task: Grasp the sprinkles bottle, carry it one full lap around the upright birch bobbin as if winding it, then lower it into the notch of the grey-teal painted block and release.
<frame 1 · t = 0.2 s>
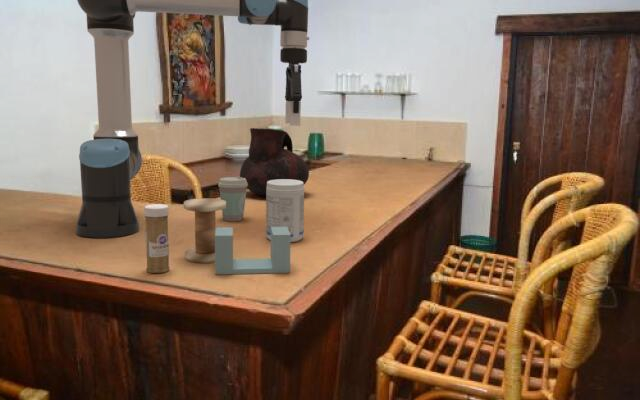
hand: (292, 124, 154), 28 cm above the worktop, fingers open, 13 cm apart
supplement tub: (284, 239, 136), on the worktop
sprinkles bottle: (158, 271, 108), on the worktop
bobbin: (205, 256, 119), on the worktop
jug: (274, 195, 198), on the worktop
notch board: (252, 268, 111), on the worktop
coffee cup: (233, 220, 156), on the worktop
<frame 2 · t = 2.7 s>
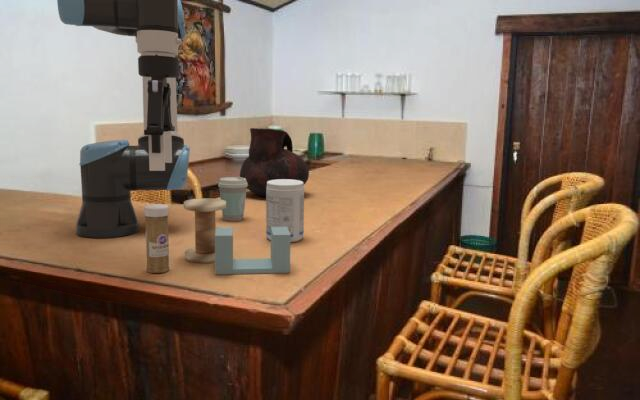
hand: (161, 166, 106), 21 cm above the worktop, fingers open, 13 cm apart
nothing on the worktop moved.
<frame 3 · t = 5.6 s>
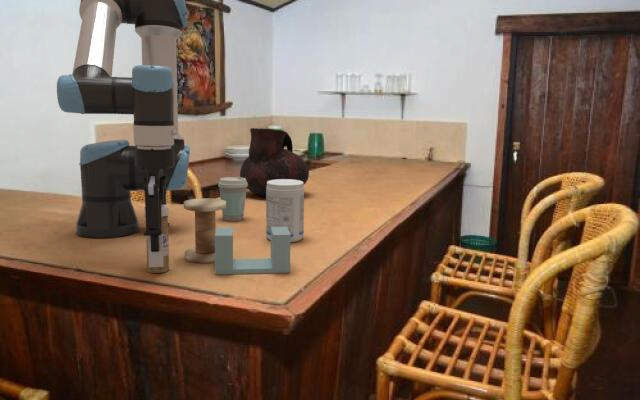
hand: (158, 262, 108), 2 cm above the worktop, fingers closed on sprinkles bottle, 4 cm apart
sprinkles bottle: (158, 271, 108), on the worktop, touching gripper
everything else where it was.
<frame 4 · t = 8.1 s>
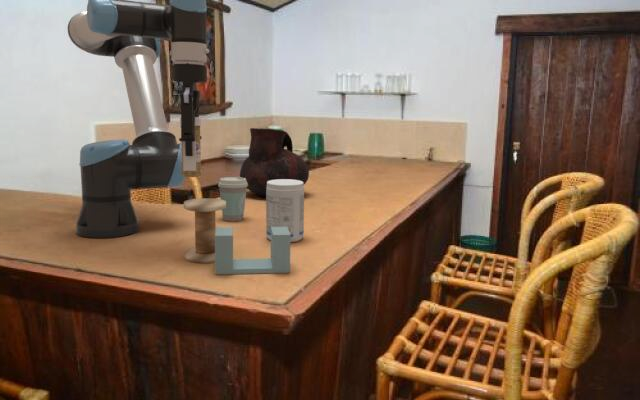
hand: (191, 168, 122), 19 cm above the worktop, fingers closed on sprinkles bottle, 4 cm apart
sprinkles bottle: (191, 177, 122), point 17 cm above the worktop, touching gripper
everything else where it was.
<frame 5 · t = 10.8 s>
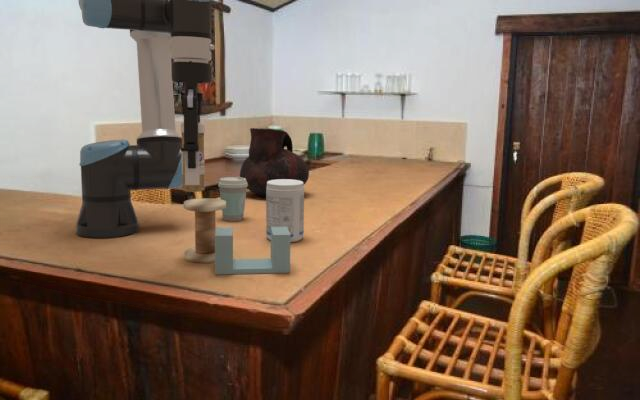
hand: (193, 182, 106), 18 cm above the worktop, fingers closed on sprinkles bottle, 4 cm apart
sprinkles bottle: (193, 191, 107), point 16 cm above the worktop, touching gripper
everything else where it was.
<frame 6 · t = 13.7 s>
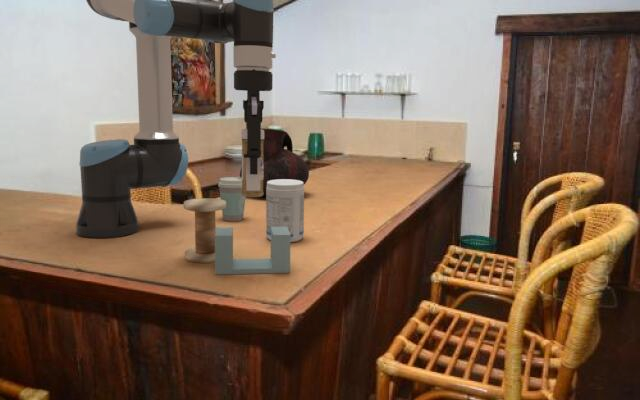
hand: (252, 188, 108), 17 cm above the worktop, fingers closed on sprinkles bottle, 4 cm apart
sprinkles bottle: (252, 196, 109), point 15 cm above the worktop, touching gripper
everything else where it was.
when the fingers open (4 cm above the worktop, at t = 16.1 s): sprinkles bottle drops 1 cm, resting on notch board.
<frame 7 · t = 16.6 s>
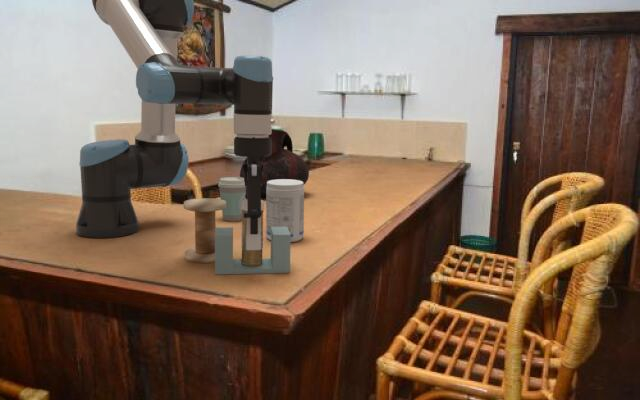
hand: (252, 241, 110), 6 cm above the worktop, fingers open, 12 cm apart
sprinkles bottle: (251, 264, 111), point 1 cm above the worktop, touching notch board
everything else where it was.
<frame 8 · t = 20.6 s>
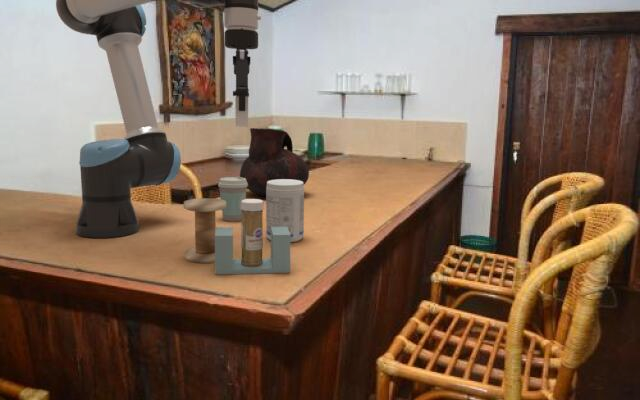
hand: (241, 125, 124), 29 cm above the worktop, fingers open, 13 cm apart
nothing on the worktop moved.
at the end: sprinkles bottle 0.2 cm off-centre on the notch board, point 0.8 cm above the notch board's base; sprinkles bottle tilted 0°; the gripper is holding nothing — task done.
